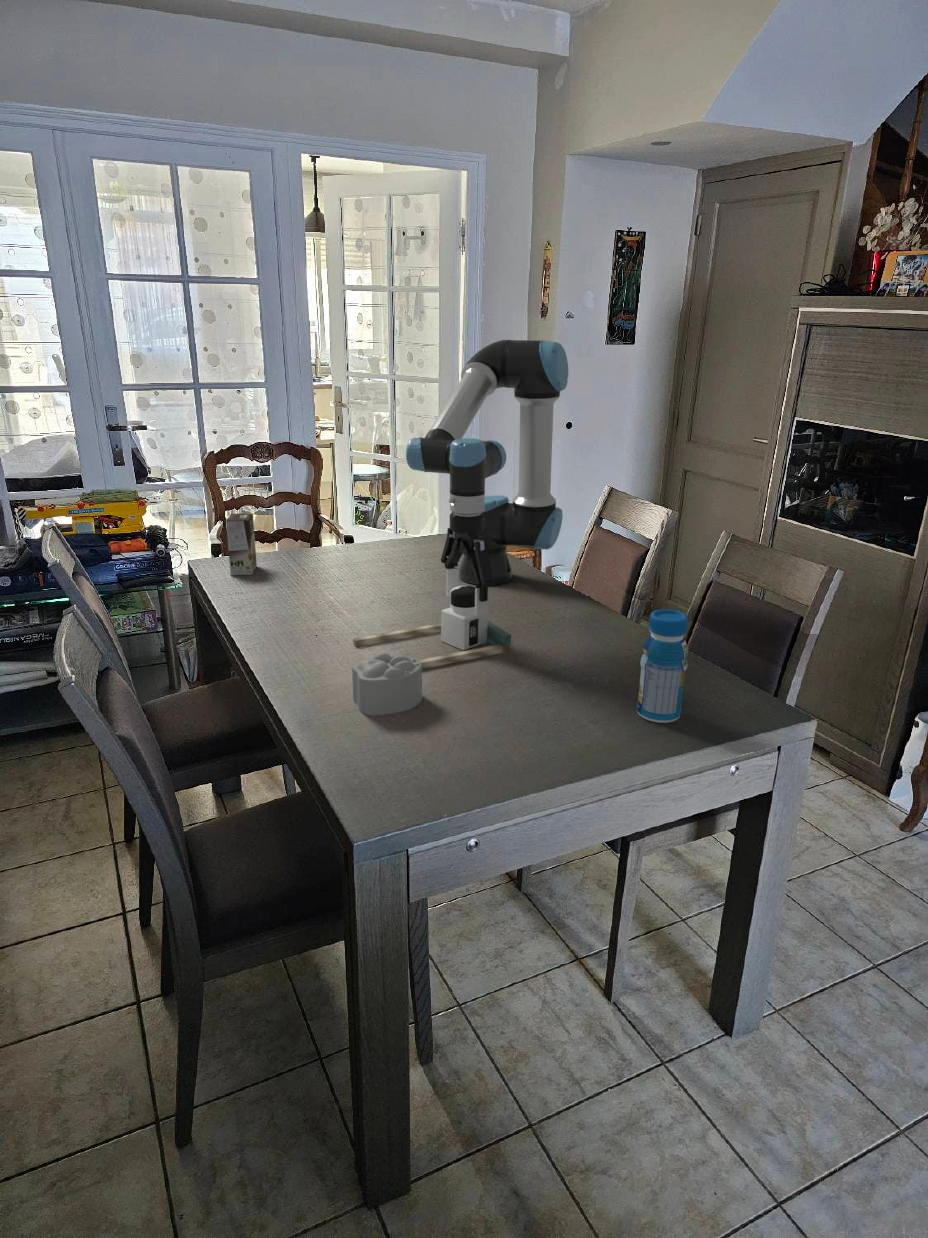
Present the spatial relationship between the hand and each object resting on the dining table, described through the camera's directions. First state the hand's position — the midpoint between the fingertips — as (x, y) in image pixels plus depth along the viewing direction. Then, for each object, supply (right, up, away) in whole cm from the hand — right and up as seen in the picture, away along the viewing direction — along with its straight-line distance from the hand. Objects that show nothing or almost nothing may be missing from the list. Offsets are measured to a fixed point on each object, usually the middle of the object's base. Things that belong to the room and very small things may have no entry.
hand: (466, 604), depth 180 cm
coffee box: (-64, +10, +51) cm, 83 cm away
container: (0, -9, +3) cm, 9 cm away
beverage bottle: (+36, -21, -29) cm, 51 cm away
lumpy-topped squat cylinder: (-15, -19, -26) cm, 36 cm away
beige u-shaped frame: (-8, -10, -1) cm, 13 cm away
